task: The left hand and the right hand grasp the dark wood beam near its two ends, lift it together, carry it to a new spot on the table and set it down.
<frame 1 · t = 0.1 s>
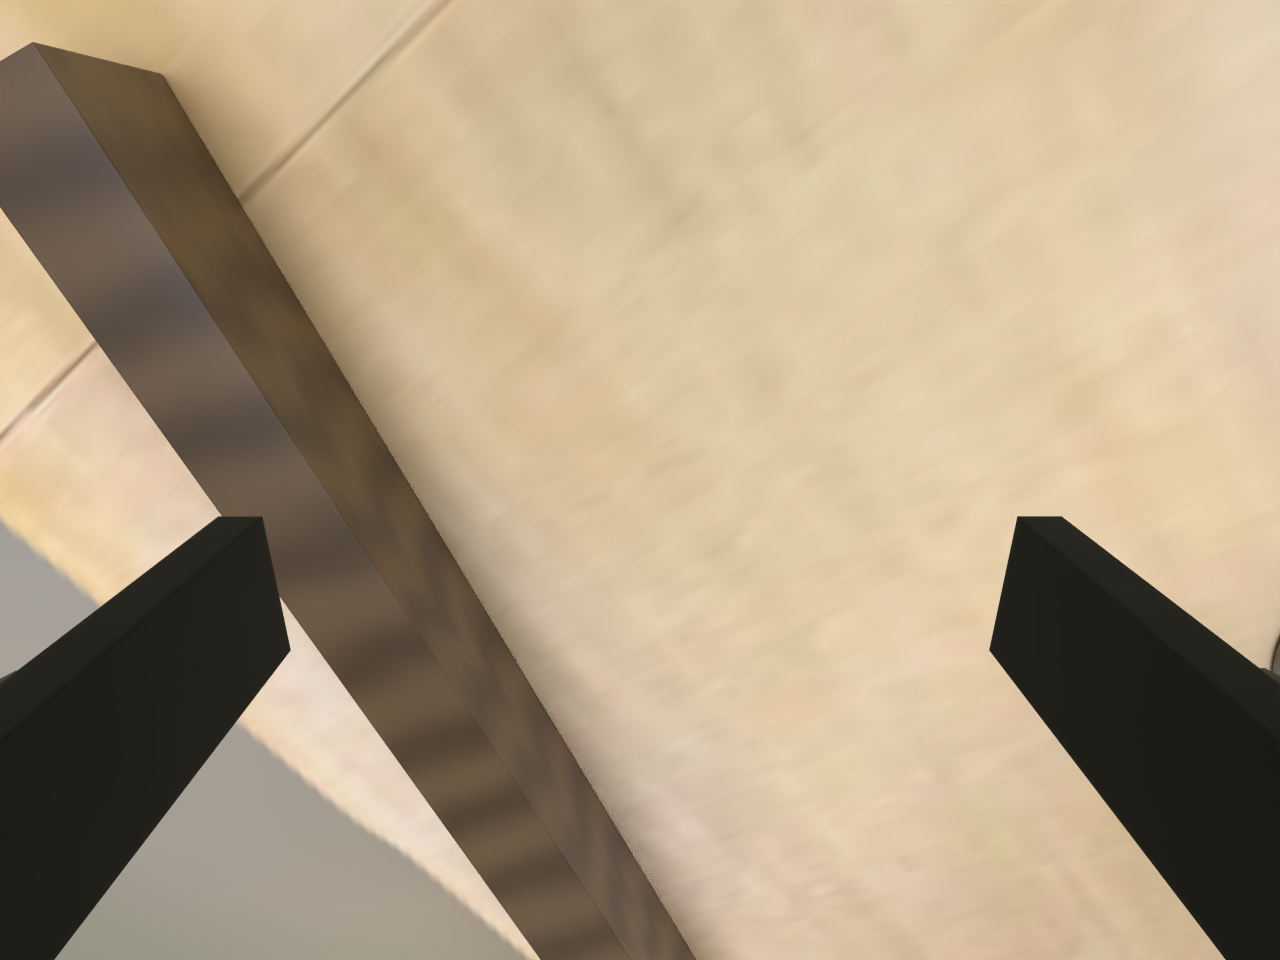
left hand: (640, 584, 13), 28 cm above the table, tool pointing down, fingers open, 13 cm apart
beam: (465, 650, 47), on the table
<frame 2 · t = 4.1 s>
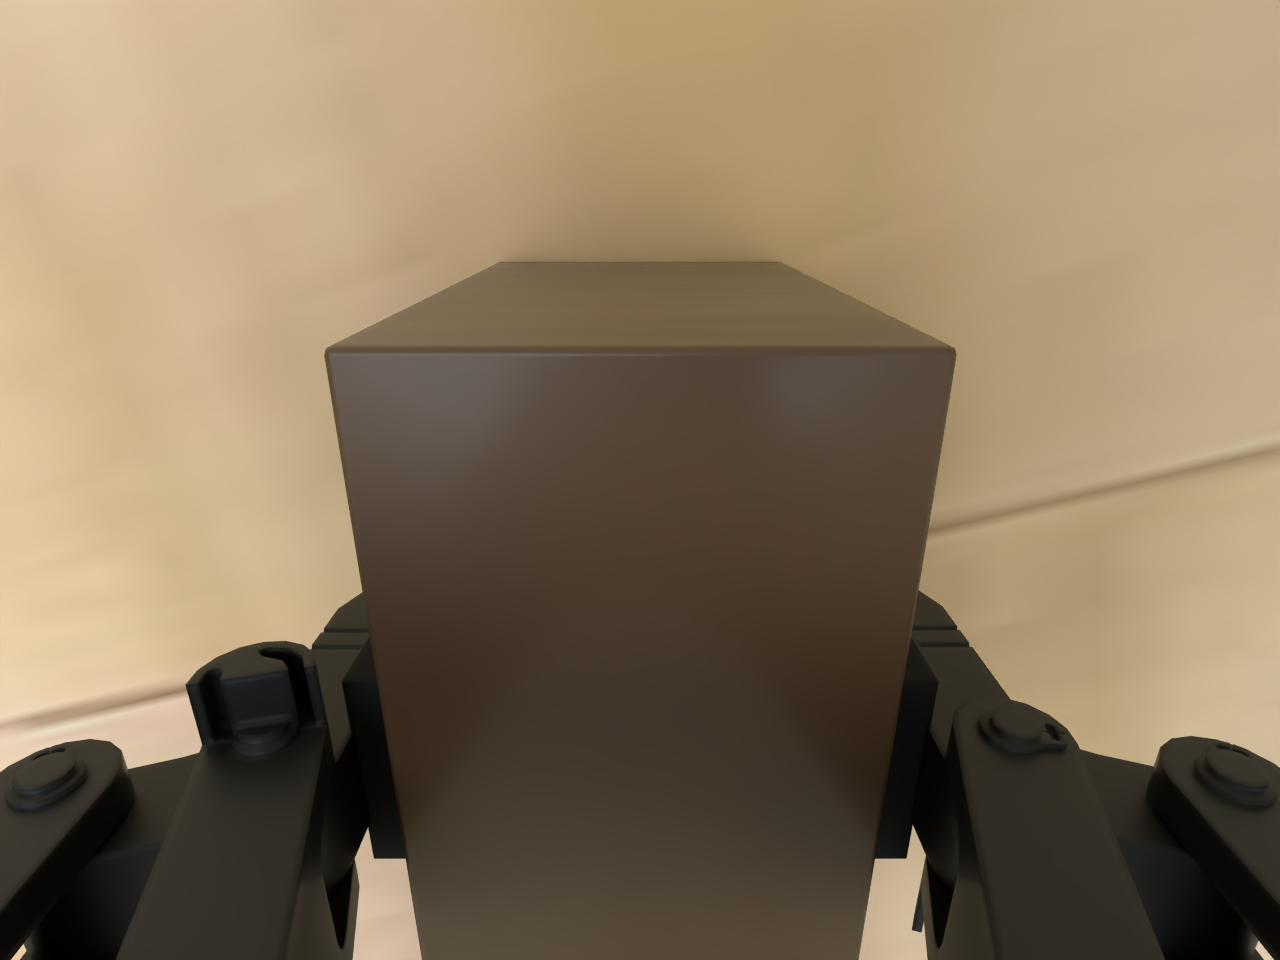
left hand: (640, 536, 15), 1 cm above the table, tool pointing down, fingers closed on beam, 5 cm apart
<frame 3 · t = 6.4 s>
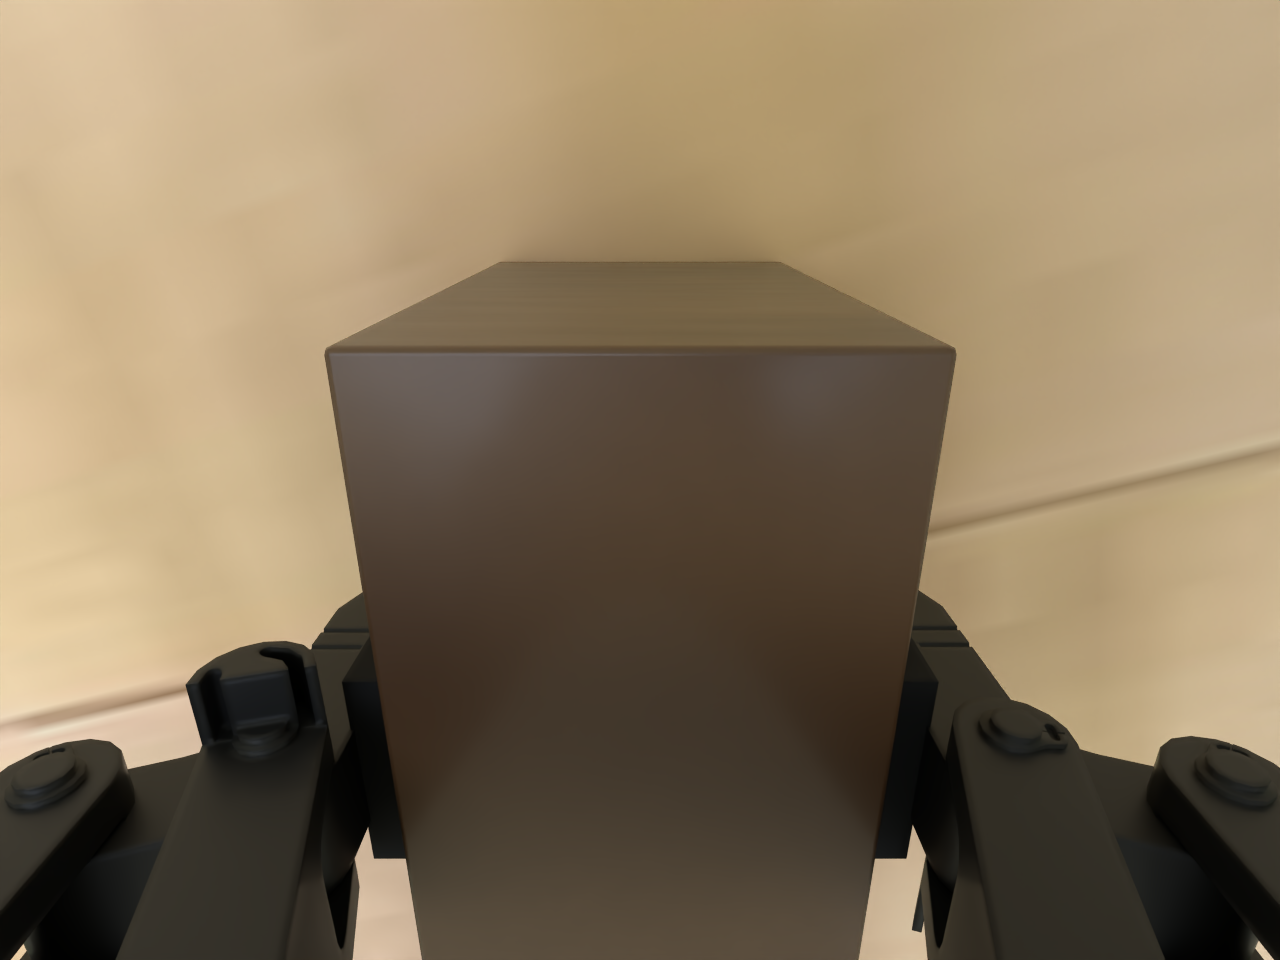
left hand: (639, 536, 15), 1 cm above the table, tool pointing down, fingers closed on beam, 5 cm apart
when the left hand's fingers open (2 cm above the table, at t = 12.9 s): beam stays where it is, on the table.
when the right hand's fingers open (2 cm above the table, at t = 12.9 s): beam stays where it is, on the table.
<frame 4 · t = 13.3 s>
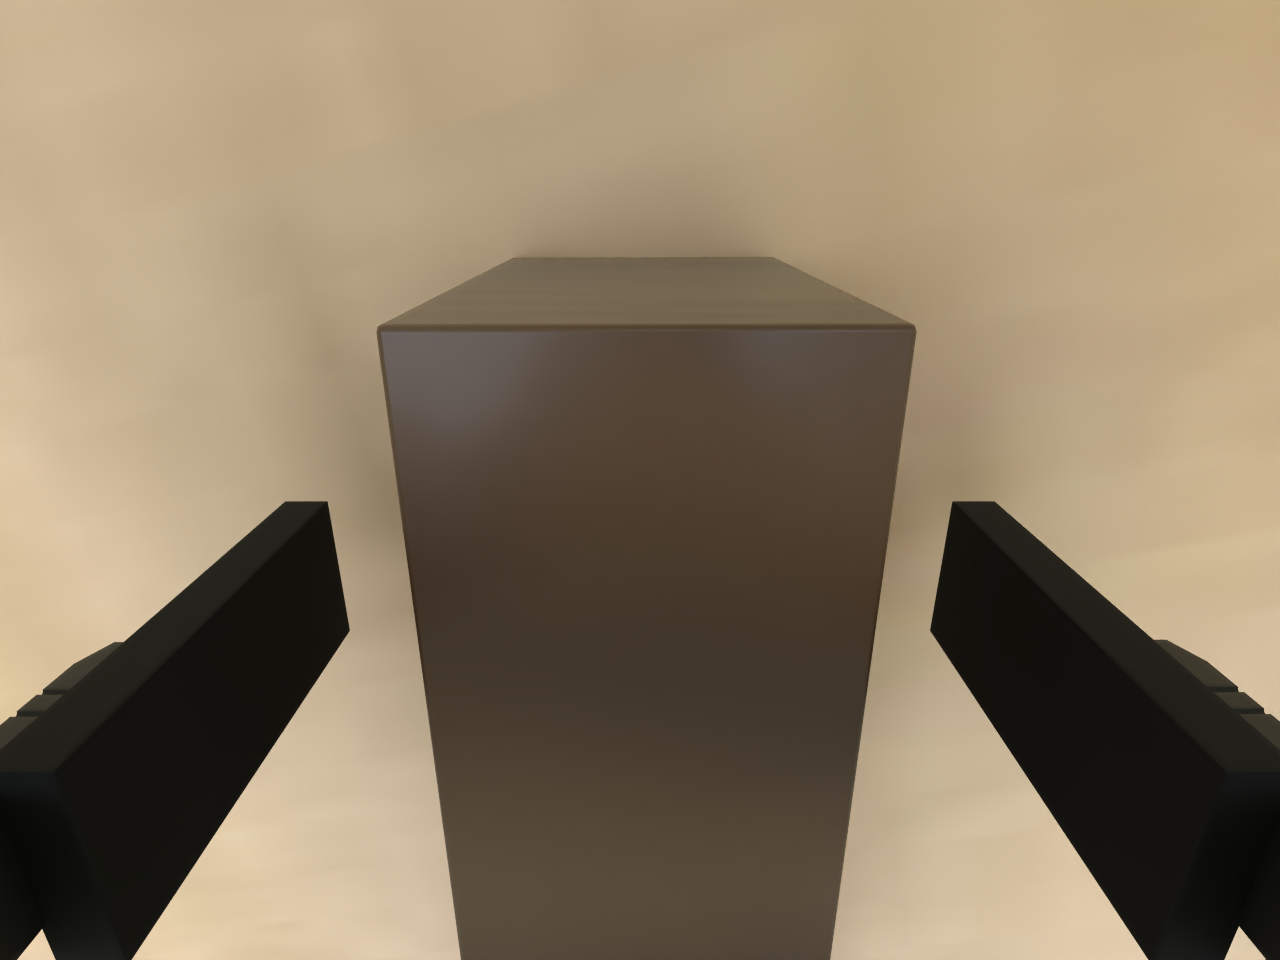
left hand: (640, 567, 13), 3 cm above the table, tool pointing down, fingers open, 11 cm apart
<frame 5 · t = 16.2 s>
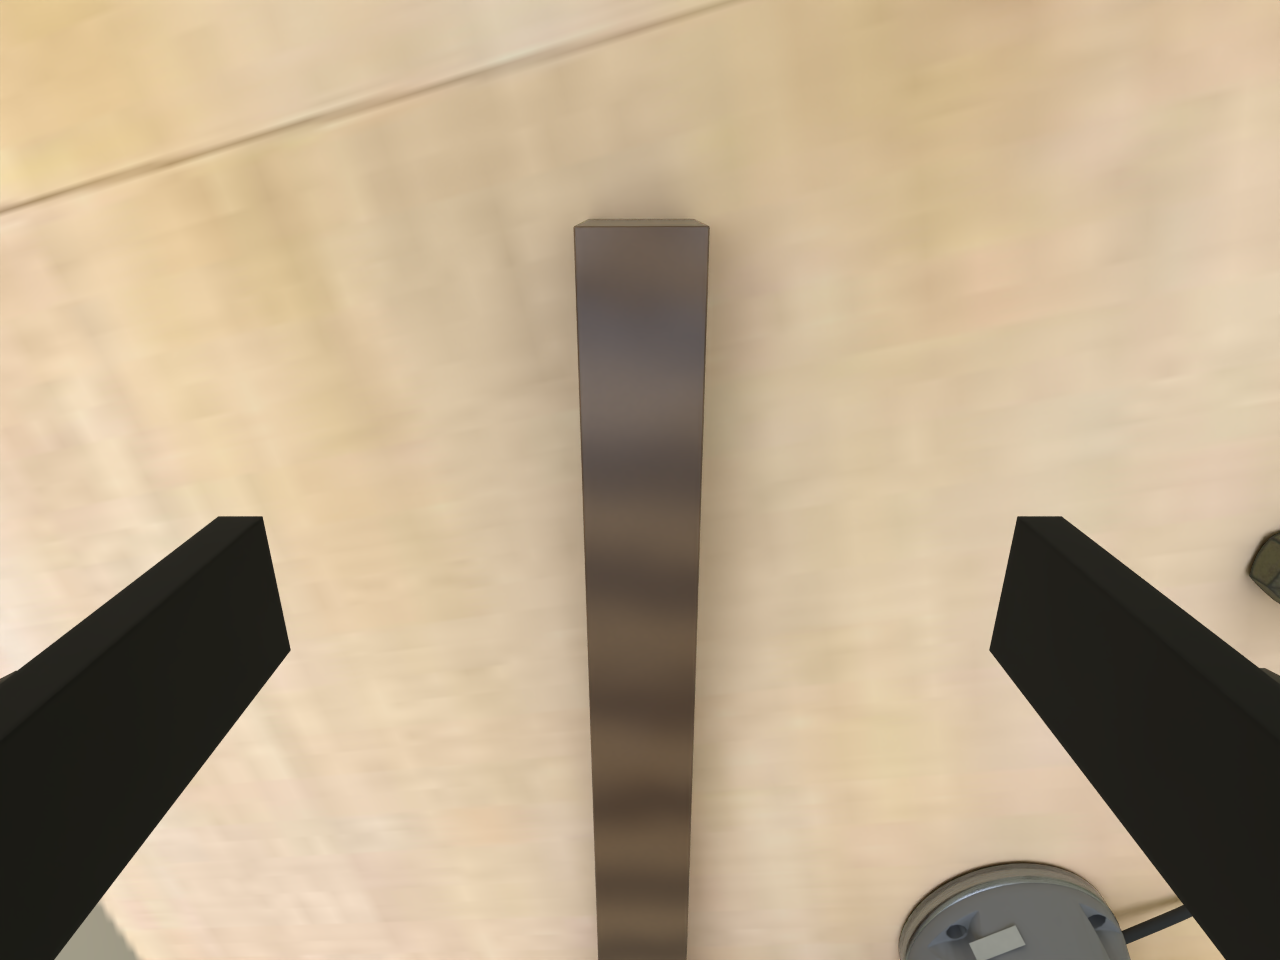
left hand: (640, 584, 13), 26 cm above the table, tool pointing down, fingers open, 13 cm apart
beam: (641, 774, 48), on the table
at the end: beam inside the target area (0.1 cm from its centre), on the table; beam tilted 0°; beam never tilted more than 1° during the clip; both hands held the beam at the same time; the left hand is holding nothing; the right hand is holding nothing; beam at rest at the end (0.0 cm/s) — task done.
